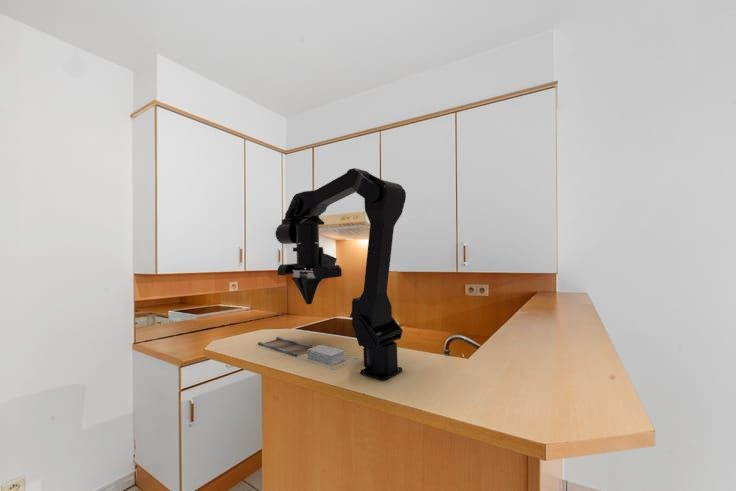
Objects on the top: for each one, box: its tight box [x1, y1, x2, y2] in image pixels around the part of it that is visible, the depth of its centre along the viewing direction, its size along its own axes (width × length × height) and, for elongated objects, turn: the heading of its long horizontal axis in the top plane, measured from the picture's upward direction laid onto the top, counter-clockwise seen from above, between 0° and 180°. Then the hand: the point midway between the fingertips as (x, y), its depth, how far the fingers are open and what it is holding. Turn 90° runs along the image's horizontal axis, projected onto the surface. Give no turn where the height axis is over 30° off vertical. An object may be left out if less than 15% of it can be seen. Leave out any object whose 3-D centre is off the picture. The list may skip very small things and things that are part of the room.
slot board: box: [257, 336, 315, 358], centre depth 80 cm, size 17×6×2 cm, turn 50°
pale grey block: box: [307, 344, 332, 363], centre depth 71 cm, size 4×4×3 cm
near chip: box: [318, 347, 346, 367], centre depth 68 cm, size 4×4×3 cm
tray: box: [295, 354, 359, 370], centre depth 71 cm, size 13×8×1 cm, turn 50°
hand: (309, 304), depth 79 cm, fingers closed
